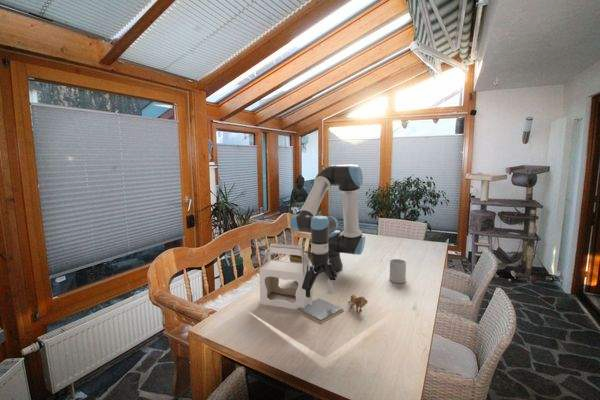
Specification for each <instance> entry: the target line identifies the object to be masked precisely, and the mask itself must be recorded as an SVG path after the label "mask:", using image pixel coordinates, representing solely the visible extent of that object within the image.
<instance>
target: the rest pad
mask: <svg viewBox="0 0 600 400" xmlns="http://www.w3.org/2000/svg"><path fill="white" fill-rule="evenodd" d="M295 311H296V312H297V313H300V314H301V315H303V316H306V317H307V318H309V319H311V320H313V321H315V322H317V323H319V324H323V323H324V322H326V321H328V320H330V319H332V318H334V317H336V316H337V315H339V314H342V313H343V312H344V311H345V309H344V308H342V307H341V306H338V305H335V304H333V303H330V302H328V301H326V300H323V299H322V298H316V299H315V300H312V305H310V304H307V305H306V306H305V308H300V307H299V308H298V309H295Z"/></svg>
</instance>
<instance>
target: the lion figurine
mask: <svg viewBox="0 0 600 400" xmlns="http://www.w3.org/2000/svg"><path fill="white" fill-rule="evenodd" d="M368 301H369V300H367V299H366V298H365V296H359V297H357V295H356V294H352V295H351V296H350V300H349V301H348V302H347V303H348V304H350V309H351V308H353V305H355V308H356V309H355V310H356V311H355V312H356V314H357V313H359V311H360V312H362V311H363V310H362V308H363V307H365V306H366V305H367V304H368Z"/></svg>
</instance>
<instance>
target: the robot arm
mask: <svg viewBox="0 0 600 400" xmlns="http://www.w3.org/2000/svg"><path fill="white" fill-rule="evenodd" d="M363 177H364V176H363V171H362V168H361V167H360V166H359V165H358V164H331V165H329V166H326V167H324V168H323V169H321V170H320V171H319V172H318V173H317V174H316V176H315V178H314V180H313V185H312V188H311V190H310V192H309V194H308V196H307V197H306V199H305V201H304V203H303V205H302V207H301V209H300V211H299V213H298V214H294V215H292V216H291V217H290V219H289V227H290V229H291V230H292V231H296V232H306V233H310V238H311V239H310V241H311V242H310V245H311V246H310V252H312V253H311V260H312V262H313V265H312V266H307V272H306V275H305V278H304V282H303V285H302V289H304V290H306V297H307V303H308V304H310V305H312V301H313V286H314V283H315V282H316V279H317V277H318V276H320V274H323V273H324V274H325V276H326V277H327V282H326V284H327V285H326V286H327V287H326V288H327V289H326V290H327V294H329V295H331V296H333V295H334V281H336V278H337V277H338V276H337V273H336V272H338V271H342V269H343V265H344V264H343V261H342V259H341V253H342V254H349V255H353V256H354V255H357V256H358V255H361V254H363V252H364V248H365V244H366V236H365V235H363V232H362V230H360V225H359V223H360V222H359V204H358V203H359V202H358V191H359V190H360V187H361V186H363V179H364V178H363ZM333 186H335V187H336V186H337V187H338V191H340V192H341V201H342V217H343V230H342V232H341V230H338V227H339V222H338V219H337V218H336V217H335V216H333V215H327V216H325V215H316V213H317V212H318V210H319V207H320V205H321V203H322V201H323V198H324V197H325V194H326V192H327V191H328V190H329V189H330V187H333ZM311 288H312V290H311Z"/></svg>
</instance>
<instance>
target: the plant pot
mask: <svg viewBox="0 0 600 400" xmlns="http://www.w3.org/2000/svg"><path fill="white" fill-rule="evenodd" d="M303 252H306V253H308V258H309V259H310V261H311V263H312V265H313V262H312V260H311V253H312V251H309V250H303ZM288 257H289V262H296V263H302V257H301V255H300V256H299V255H290V254H288ZM295 283H296V284H298V282H297V281H295Z"/></svg>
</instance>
